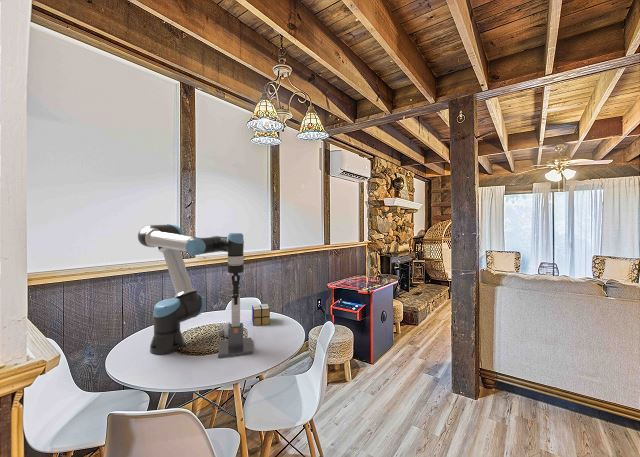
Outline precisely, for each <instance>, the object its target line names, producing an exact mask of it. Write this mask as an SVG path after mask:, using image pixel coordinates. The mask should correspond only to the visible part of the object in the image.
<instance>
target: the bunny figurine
mask: <svg viewBox="0 0 640 457" xmlns="http://www.w3.org/2000/svg"><path fill="white" fill-rule="evenodd" d="M229 324H231V322H230V321H227V322H225V323H223V324H222V323H217V324H216V328H220V330H218V331H217V332H218V336H220V337H221V336H222V335H224V336H222V337H223V338H224V337H225V338H224V339H226V337H227V338H228V327H229Z"/></svg>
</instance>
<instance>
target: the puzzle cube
mask: <svg viewBox="0 0 640 457" xmlns="http://www.w3.org/2000/svg"><path fill="white" fill-rule="evenodd" d="M251 306H252V307H251V308H252V309H251V321H252V325H253V327H255V326H256V327H257V326H266V325H270V323H271V316H270V315H271V307H270V306H269V304H268V303H263V304H262V303H261V304H252V305H251Z"/></svg>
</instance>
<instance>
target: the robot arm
mask: <svg viewBox="0 0 640 457" xmlns="http://www.w3.org/2000/svg"><path fill="white" fill-rule="evenodd" d="M137 240H138V243H139V244H140V245H141V246H144V247H147V248H158V251H159V252H160V253H162V255H163V257H164V260H165V264H166V267H167V270H168V273H169V277H170V280H171V283H172V286H173V290H174V292H175V295H174V297H171V298H165V299H163V300H160V301H158V302H157V303H156V304H155V305H154V307H153V312H152V314H153V336H152V340H151V342H150V345H149V352H150V353H151V354H154V355H165V354H167V355H168V354H171V353H175V352H177V351H179V350H180V349H179V348H181V347H182V346H183V345H184V346H185V339H184V337H183V334H182V332H181V323H182V322H185V321H188V320H191V319H195V318H197V317H198V316H199V315H202V313H203V312H204V310H205V308H206V301H205V297H204V296H203V295H202V294H200V293H198V291H197V289H195V288H193V286H192V282H191V279H190V277H189V273H188V270H187V267H186V264H185V261H184V257H183V254H182V252H185V253H188V255H190V256H200V255H205V254H209V253H210V254H211V253H216V252H217V253H220V252H221V253H222V252H224V253H227V264H228V265H227V273H229V274H233V275H231V284H232V289H233V296H232V295H231V299H232V298H233V311H239V290H238V288H241V287H240V286H239V285H240V280H241V275H239V273H240V274H241V273H244V269H245V267H244V266H245V265H244V260H245V258H246V257H245V256H244V248H245V246H244V245H245V244H244V243H245V241H244V240H245V239H244V234H243V233H240V232H231V233H228V234H227V236H219V235H214V236H213V235H212V236H210V237H196V236H190V235H184V234H183V230H182V229H181V228H180V226H178V225H176V224H170V223H169V224H150V225H145V226H144V227H142V228H141V229H140V230H139V231H138V234H137ZM184 346H183V347H184ZM183 347H182V348H183ZM182 348H181V349H182ZM178 349H179V350H178Z"/></svg>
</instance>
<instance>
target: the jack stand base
mask: <svg viewBox="0 0 640 457" xmlns="http://www.w3.org/2000/svg"><path fill="white" fill-rule="evenodd" d="M231 324H232V323H230V324H229V327H228V337H227V339H224V340H223V339H222V340H219V345H218V352H217V358H218V359H221V358H229V357H230V358H231V357H237V356H238V357H239V356H248V355H254V347H253V346H254V345H253V338H252V337H251V336H249V337H244V322H240V327H239V328H231Z"/></svg>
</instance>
